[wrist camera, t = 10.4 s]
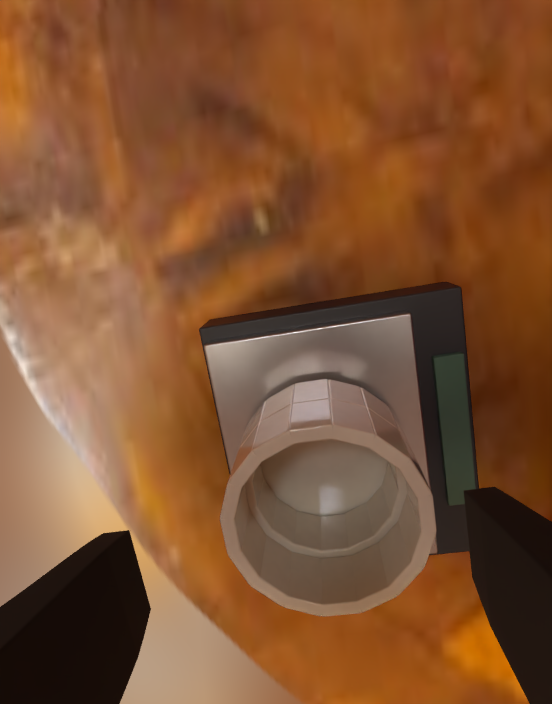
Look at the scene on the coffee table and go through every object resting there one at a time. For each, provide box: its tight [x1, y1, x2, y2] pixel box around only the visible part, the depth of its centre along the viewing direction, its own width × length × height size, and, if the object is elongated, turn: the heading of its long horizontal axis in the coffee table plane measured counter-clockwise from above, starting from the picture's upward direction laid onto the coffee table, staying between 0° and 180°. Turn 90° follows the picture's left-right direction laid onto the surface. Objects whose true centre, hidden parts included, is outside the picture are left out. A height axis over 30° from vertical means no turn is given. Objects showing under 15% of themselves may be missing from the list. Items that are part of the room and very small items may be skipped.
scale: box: [199, 282, 479, 555], centre depth 18 cm, size 9×10×2 cm
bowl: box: [220, 379, 437, 616], centre depth 15 cm, size 6×6×4 cm
